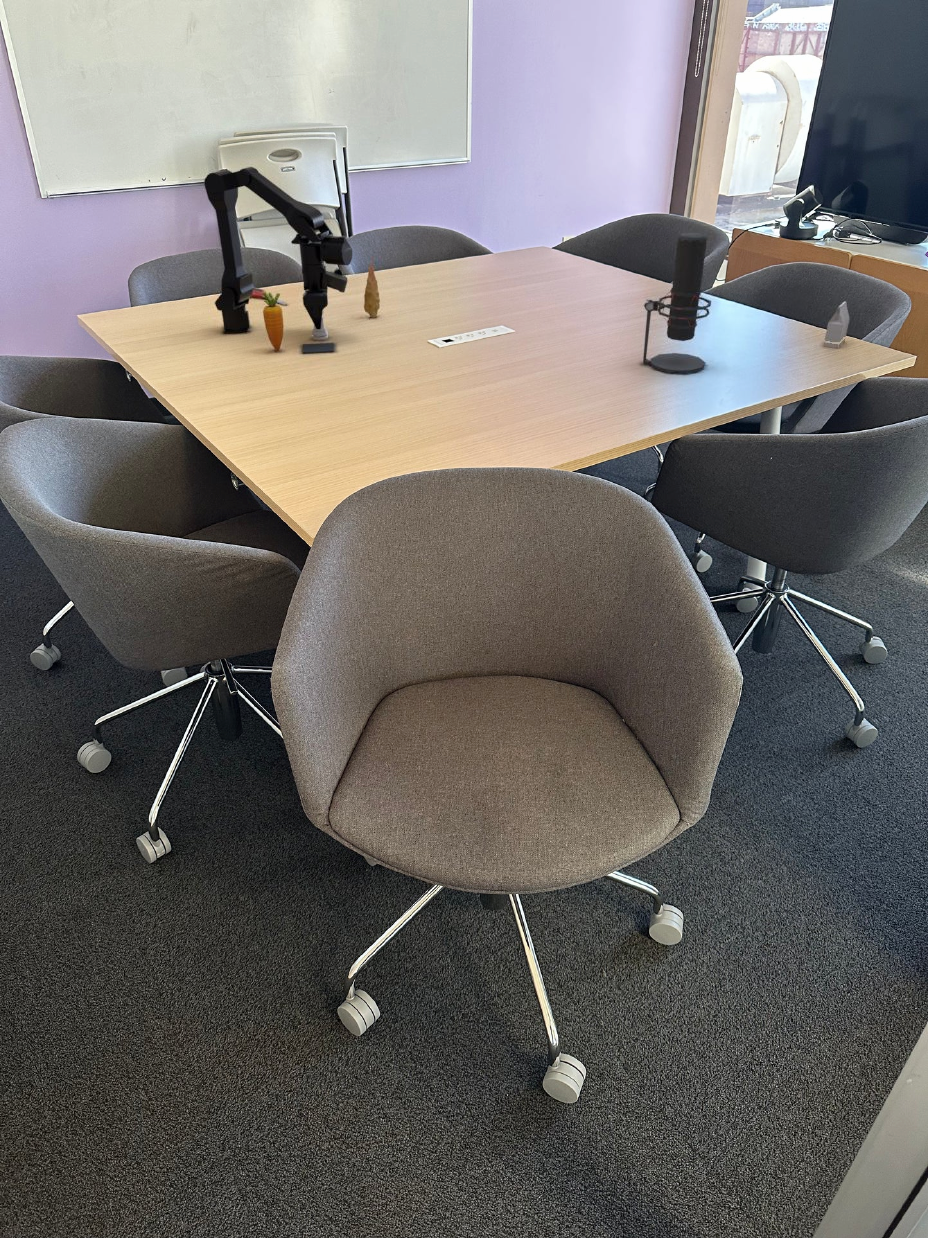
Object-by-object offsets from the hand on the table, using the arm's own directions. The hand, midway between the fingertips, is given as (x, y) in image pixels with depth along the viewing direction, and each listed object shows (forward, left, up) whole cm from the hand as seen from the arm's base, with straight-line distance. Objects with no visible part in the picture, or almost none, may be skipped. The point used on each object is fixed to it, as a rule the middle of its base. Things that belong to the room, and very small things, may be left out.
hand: (318, 324), depth 240 cm
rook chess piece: (0, 0, -4) cm, 4 cm away
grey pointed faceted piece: (+132, -27, -4) cm, 135 cm away
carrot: (-11, -9, -4) cm, 15 cm away
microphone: (+86, -37, -4) cm, 94 cm away
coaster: (0, -9, -4) cm, 10 cm away
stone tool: (+15, +18, -4) cm, 24 cm away
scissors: (-16, +45, -4) cm, 48 cm away
